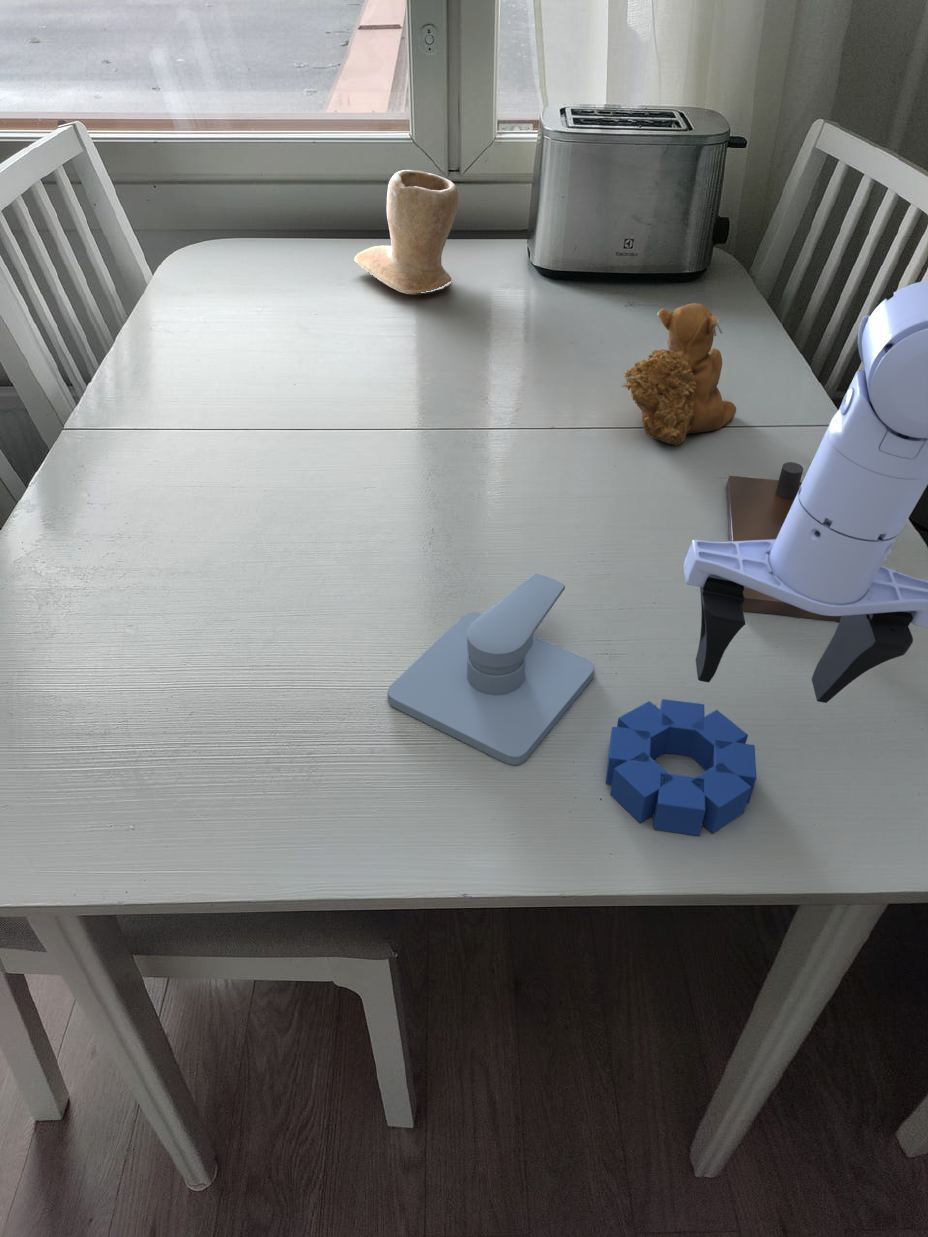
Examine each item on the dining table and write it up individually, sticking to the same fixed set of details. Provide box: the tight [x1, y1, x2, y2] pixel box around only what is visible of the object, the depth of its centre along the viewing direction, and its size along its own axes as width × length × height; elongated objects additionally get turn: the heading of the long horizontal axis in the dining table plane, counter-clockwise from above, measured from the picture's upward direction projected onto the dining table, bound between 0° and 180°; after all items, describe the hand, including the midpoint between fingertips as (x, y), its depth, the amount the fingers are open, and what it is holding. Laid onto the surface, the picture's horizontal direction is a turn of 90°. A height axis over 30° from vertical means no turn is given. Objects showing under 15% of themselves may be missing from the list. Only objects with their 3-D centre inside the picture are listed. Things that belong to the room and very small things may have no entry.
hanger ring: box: [605, 698, 758, 837], centre depth 68 cm, size 10×10×3 cm
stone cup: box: [353, 169, 459, 295], centre depth 137 cm, size 15×12×15 cm
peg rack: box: [725, 461, 842, 623], centre depth 89 cm, size 11×20×4 cm, turn 170°
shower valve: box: [387, 573, 595, 766], centre depth 75 cm, size 12×6×15 cm
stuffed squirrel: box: [621, 302, 737, 446], centre depth 104 cm, size 10×14×13 cm
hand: (760, 681), depth 61 cm, fingers open, 7 cm apart
